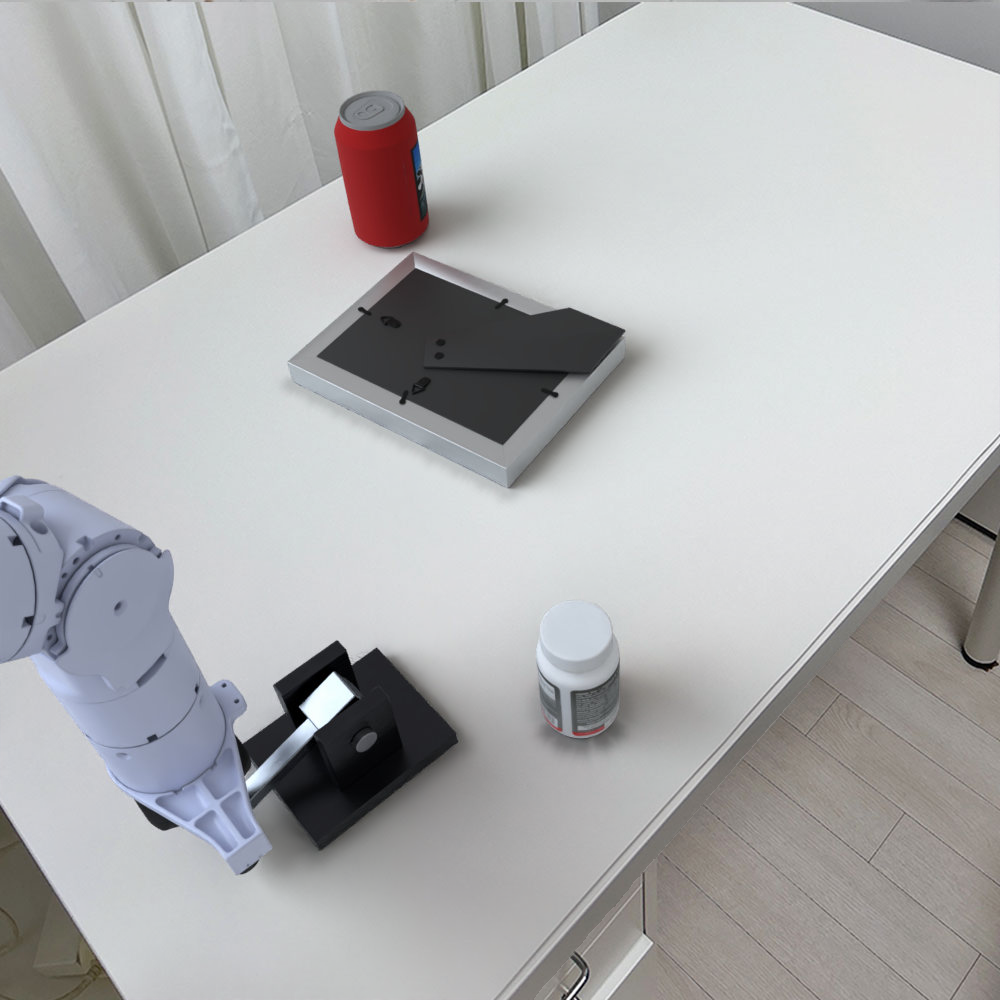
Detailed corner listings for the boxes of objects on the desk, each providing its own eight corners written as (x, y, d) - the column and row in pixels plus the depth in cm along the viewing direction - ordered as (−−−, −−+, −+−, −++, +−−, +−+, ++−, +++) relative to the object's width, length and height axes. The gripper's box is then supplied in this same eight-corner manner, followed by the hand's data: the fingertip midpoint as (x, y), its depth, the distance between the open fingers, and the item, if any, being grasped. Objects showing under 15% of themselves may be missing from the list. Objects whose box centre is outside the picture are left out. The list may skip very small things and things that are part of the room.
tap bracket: (319, 851, 62) (293, 799, 57) (245, 754, 66) (214, 697, 61) (458, 742, 65) (446, 683, 60) (379, 657, 70) (361, 595, 64)
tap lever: (250, 878, 60) (226, 871, 58) (195, 801, 63) (171, 792, 61) (393, 729, 61) (376, 718, 59) (333, 661, 65) (314, 648, 63)
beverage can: (446, 227, 98) (430, 103, 89) (390, 264, 95) (368, 140, 86) (394, 199, 101) (374, 77, 92) (339, 234, 98) (312, 112, 89)
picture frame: (625, 357, 86) (416, 271, 94) (625, 329, 83) (411, 243, 92) (508, 488, 78) (292, 381, 86) (505, 461, 76) (284, 354, 84)
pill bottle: (628, 681, 67) (630, 604, 61) (607, 749, 64) (607, 675, 58) (553, 662, 68) (548, 584, 62) (530, 728, 66) (522, 653, 59)
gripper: (298, 745, 48) (352, 866, 58) (139, 549, 55) (212, 687, 66) (154, 851, 45) (238, 958, 55) (8, 630, 53) (106, 761, 63)
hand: (217, 817), depth 60 cm, fingers closed, pressing on tap lever
